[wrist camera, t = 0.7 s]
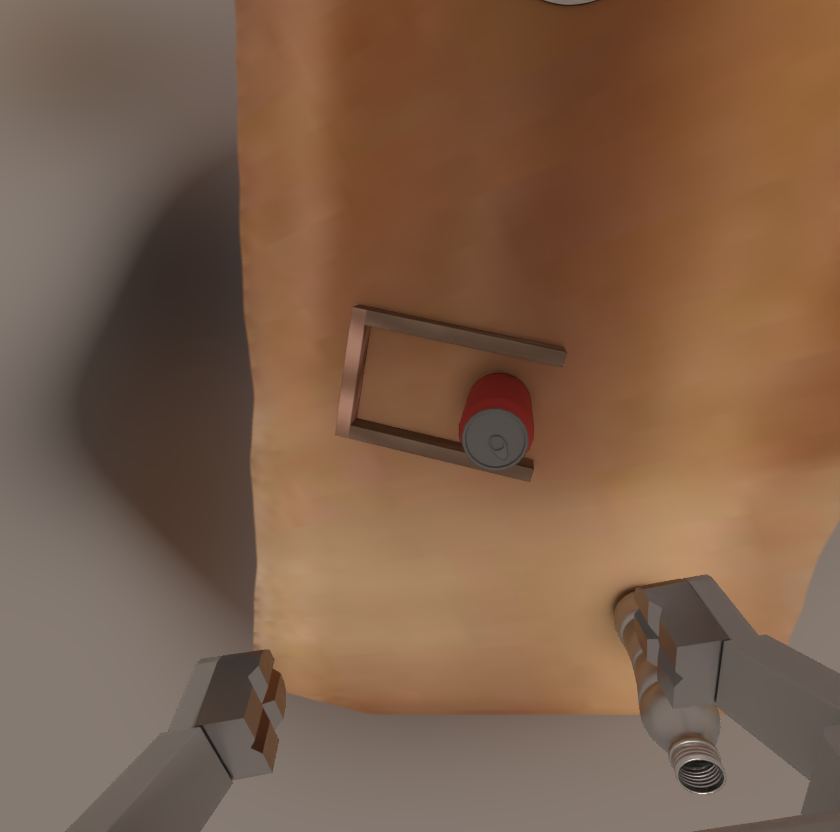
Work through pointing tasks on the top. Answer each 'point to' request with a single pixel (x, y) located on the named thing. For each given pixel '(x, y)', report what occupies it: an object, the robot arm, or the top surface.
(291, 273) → the top surface
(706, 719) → the plastic bottle
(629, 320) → the top surface
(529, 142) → the top surface
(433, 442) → the walnut channel
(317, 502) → the top surface
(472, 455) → the beer can
